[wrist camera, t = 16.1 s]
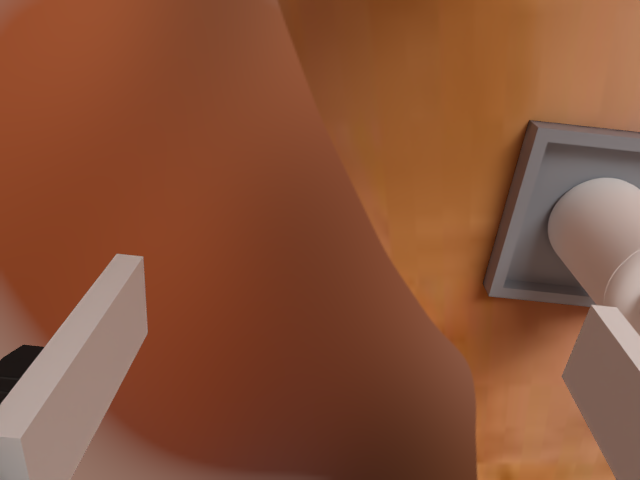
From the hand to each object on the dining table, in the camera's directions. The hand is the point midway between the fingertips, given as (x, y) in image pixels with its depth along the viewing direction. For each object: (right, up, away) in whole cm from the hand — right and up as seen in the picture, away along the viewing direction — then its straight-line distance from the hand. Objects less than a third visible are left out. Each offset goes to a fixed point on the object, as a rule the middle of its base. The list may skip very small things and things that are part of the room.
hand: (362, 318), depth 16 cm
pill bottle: (+22, +4, +29) cm, 36 cm away
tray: (+22, +4, +29) cm, 37 cm away
